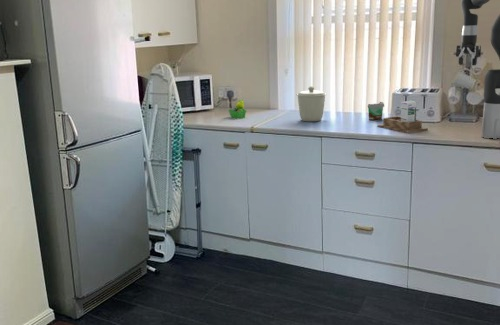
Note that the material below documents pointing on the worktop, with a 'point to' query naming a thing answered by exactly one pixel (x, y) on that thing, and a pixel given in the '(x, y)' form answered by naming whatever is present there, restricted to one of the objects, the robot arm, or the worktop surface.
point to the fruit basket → (238, 110)
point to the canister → (311, 104)
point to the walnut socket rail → (402, 125)
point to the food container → (375, 111)
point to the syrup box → (408, 111)
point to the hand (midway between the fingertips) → (467, 65)
